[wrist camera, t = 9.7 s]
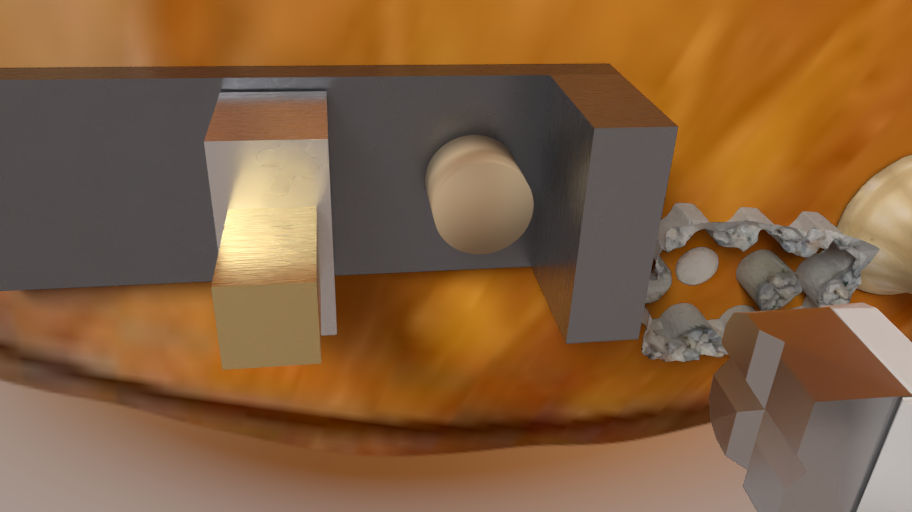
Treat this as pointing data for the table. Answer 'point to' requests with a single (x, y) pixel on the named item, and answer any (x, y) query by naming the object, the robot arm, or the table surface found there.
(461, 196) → the hazelnut
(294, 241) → the block
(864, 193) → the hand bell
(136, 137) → the press base
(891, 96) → the table surface
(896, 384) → the robot arm
